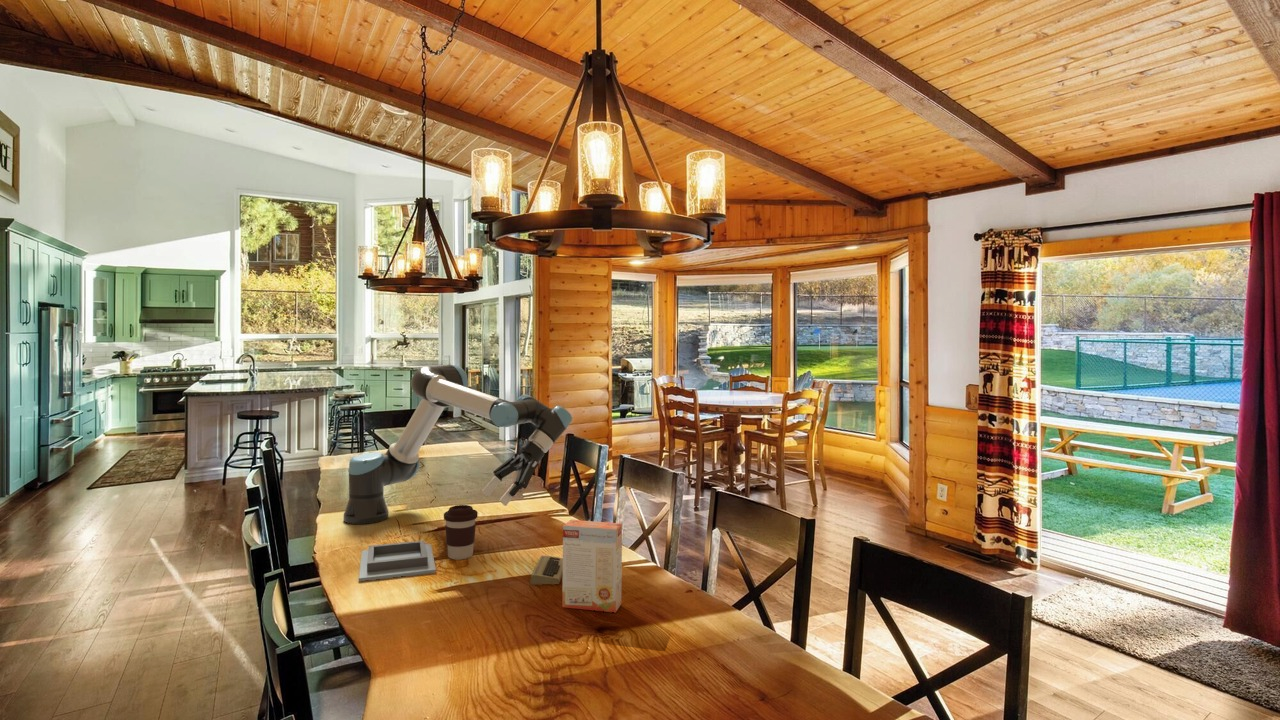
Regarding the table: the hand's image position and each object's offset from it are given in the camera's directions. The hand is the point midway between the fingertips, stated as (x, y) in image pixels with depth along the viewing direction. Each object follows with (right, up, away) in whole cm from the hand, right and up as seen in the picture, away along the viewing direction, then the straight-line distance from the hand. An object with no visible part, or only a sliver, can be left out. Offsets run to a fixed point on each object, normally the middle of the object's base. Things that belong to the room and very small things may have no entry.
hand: (493, 498), depth 198 cm
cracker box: (+34, -18, -40) cm, 56 cm away
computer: (+20, -18, -19) cm, 33 cm away
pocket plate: (-25, -16, -12) cm, 33 cm away
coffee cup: (-9, -17, -6) cm, 19 cm away
